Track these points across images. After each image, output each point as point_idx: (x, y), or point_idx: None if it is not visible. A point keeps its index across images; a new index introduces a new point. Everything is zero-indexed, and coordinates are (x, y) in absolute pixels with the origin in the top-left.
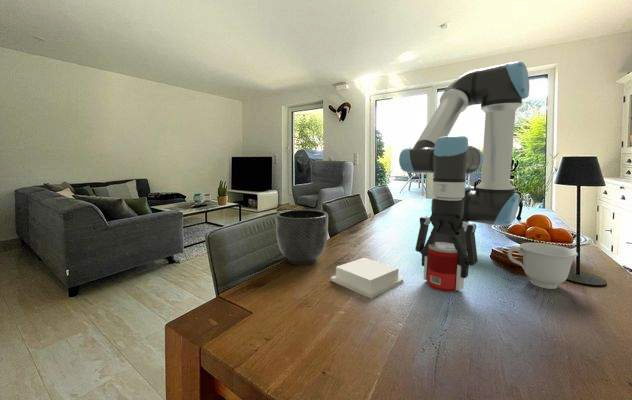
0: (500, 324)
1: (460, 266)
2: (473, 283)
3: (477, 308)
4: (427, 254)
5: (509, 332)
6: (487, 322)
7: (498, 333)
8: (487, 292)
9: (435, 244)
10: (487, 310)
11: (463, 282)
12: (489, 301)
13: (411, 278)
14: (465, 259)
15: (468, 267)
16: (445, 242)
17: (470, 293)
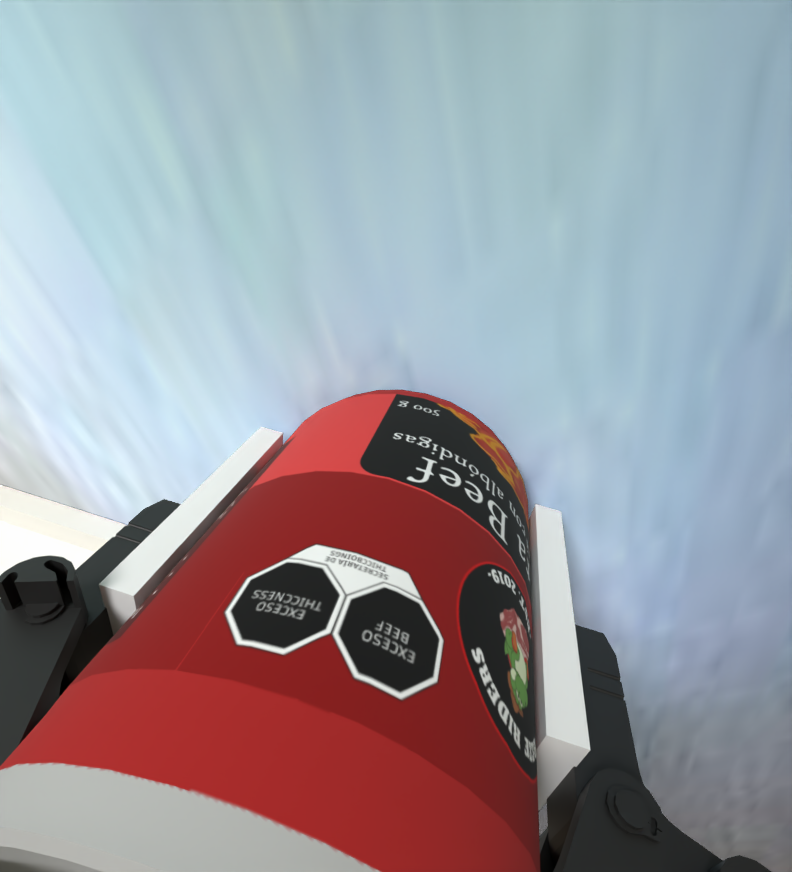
0: (757, 772)
1: (538, 798)
2: (662, 265)
3: (652, 680)
4: (102, 636)
5: (784, 809)
6: (689, 768)
7: (725, 817)
8: (785, 430)
9: (40, 865)
10: (713, 684)
11: (563, 549)
12: (758, 582)
13: (184, 459)
14: (603, 857)
15: (633, 753)
16: (64, 855)
17: (617, 514)
